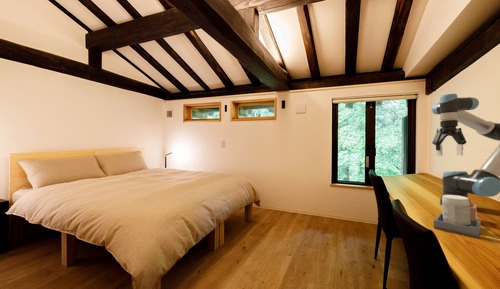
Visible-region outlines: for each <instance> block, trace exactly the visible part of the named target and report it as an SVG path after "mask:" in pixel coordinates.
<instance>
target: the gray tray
mask: <svg viewBox="0 0 500 289" xmlns="http://www.w3.org/2000/svg"><path fill="white" fill-rule="evenodd" d="M470 222H471V227H468V226H463V225H458V224H453V223H448V222H444V221H443V213H440V212H438V213H437V215H436V216H435V218H434V219H433V229H436V230H441V231H445V232H449V233H455V234H458V233H459V235H462V234H464V235H463V236H466V237H472V238H475V239H480V235H481V234H480V233H481V226H482V224H481V223H482V222H481V220H478V219H477V220H474V219H470Z"/></svg>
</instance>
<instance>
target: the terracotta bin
mask: <svg viewBox="0 0 500 289" xmlns="http://www.w3.org/2000/svg"><path fill="white" fill-rule="evenodd" d="M469 204H470V219H474V220H478V211H477V210H478V207H477V206H478V205H477V204H475V203H472V202H471V203H469Z"/></svg>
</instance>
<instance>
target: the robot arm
mask: <svg viewBox="0 0 500 289" xmlns="http://www.w3.org/2000/svg"><path fill="white" fill-rule="evenodd" d="M479 104H480V101H479V99H478V98H476V97H471V96H470V97H458V94H457V93H448V94H444V95H441V96H440V97H439V102H438V103H435V104H433V106H432V108H431V112H432V114H434V115H440V116H439V117H440V118H439V119H440V120H439V124H440V125H439V126H440V127H439V128H437V129H436V133H435V134H434V137H433V140H432V144H433V146H435V150H436V156H437V157H443V144H442V143H443V142H444V141H445V139H447V137H451V138H452V139H453V140H454V141H455V143H456V144H455V145H456V147H455V148H456V156H464V145H466V144H467V143H468V142H467V140H466V138H465V135H464V133H463V132H462V128H461V127H458V126H459V125H458V124H462V125H464V126H466V127H468V128H470V129H472V130H474V131H476V133H477V134H479V135H481V136H483V137H485V138H488V139H491V140H494V141H498V142H500V123H497V122H493V121H490V120H489V121H488V120H485V119H483V118H481V117H479V116H476V115H474V114H473V113H470V112H468V111H473V110H476V109H477V108H478V107H479ZM457 127H458V128H457ZM441 178H442V191H443V192H442V195H441V198H440V200H439V204H440V205H441V206H442V196H443V195H457V196H463V197H467V198H469V203H471V204H472V202H471V199H470V197H469V194H471V195H476V196H479V197H486V198H491V197H495V196H497V195H499V194H500V143H499V144H498V145H497V147H496V148H495V149H494V151H493V152H491V154H490V155H489V157H488V158H487V159H486V160H485V162H484V163H483V164H482V165H481V166H480V168H478V169H474V170H472V172H471V173H470V174H469V173H468V172H467V171H464V170H463V171H462V170H460V171H444V172H443V173H442V177H441Z"/></svg>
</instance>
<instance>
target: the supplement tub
mask: <svg viewBox="0 0 500 289" xmlns="http://www.w3.org/2000/svg"><path fill="white" fill-rule="evenodd" d="M442 195H443V194H442ZM442 195H441V197H442V205H441V206H442V214H443V221H444V222H448V223H453V224H458V225H463V226H468V227H471V222H470V204H469V199H470V197H469V198H467V197H463V196H457V195H443V196H442Z"/></svg>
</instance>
